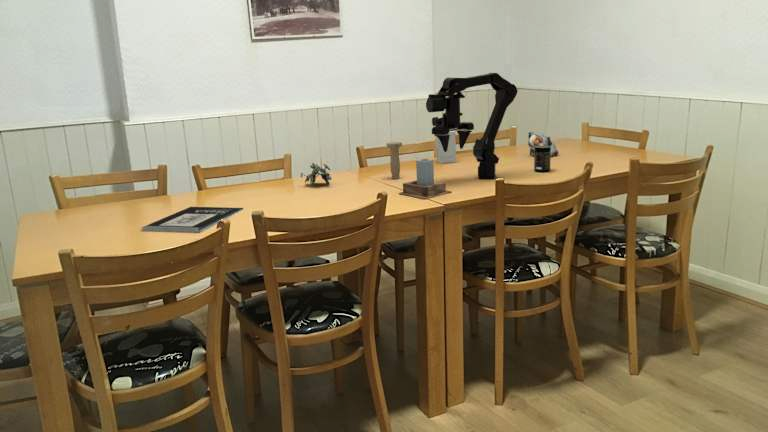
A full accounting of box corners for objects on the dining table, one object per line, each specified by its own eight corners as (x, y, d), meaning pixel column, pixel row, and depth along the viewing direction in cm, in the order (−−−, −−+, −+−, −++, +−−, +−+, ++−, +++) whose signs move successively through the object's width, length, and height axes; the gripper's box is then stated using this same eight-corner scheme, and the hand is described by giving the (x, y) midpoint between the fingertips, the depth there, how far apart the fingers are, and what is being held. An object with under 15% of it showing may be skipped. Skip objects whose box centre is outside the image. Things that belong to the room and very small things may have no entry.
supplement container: (552, 170, 270) (553, 145, 267) (547, 173, 264) (547, 148, 262) (537, 169, 273) (537, 145, 271) (531, 172, 268) (531, 147, 265)
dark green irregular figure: (327, 197, 264) (338, 176, 257) (304, 197, 258) (315, 175, 251) (318, 178, 271) (328, 157, 264) (295, 178, 264) (305, 156, 257)
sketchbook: (244, 211, 228) (243, 205, 227) (199, 235, 200) (198, 229, 199) (190, 209, 233) (190, 204, 233) (140, 232, 205) (139, 226, 205)
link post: (425, 189, 242) (424, 157, 239) (434, 191, 239) (433, 159, 235) (417, 192, 239) (416, 159, 236) (425, 193, 236) (424, 160, 233)
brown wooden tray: (425, 187, 248) (424, 177, 247) (451, 192, 238) (451, 182, 237) (398, 194, 239) (398, 183, 238) (424, 199, 229) (424, 188, 228)
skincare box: (452, 160, 303) (451, 129, 299) (456, 162, 297) (456, 130, 294) (435, 162, 301) (434, 130, 298) (439, 164, 296) (438, 132, 292)
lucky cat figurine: (563, 156, 300) (556, 132, 293) (540, 167, 301) (532, 143, 293) (548, 143, 313) (542, 119, 305) (526, 153, 313) (519, 130, 305)
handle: (404, 178, 267) (403, 143, 263) (390, 180, 265) (389, 144, 261) (400, 176, 272) (399, 141, 268) (386, 178, 270) (385, 143, 266)
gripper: (453, 107, 260) (454, 145, 264) (421, 111, 248) (422, 151, 252) (474, 108, 252) (474, 147, 256) (441, 113, 240) (442, 154, 244)
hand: (453, 150), depth 252 cm, fingers open, 9 cm apart
